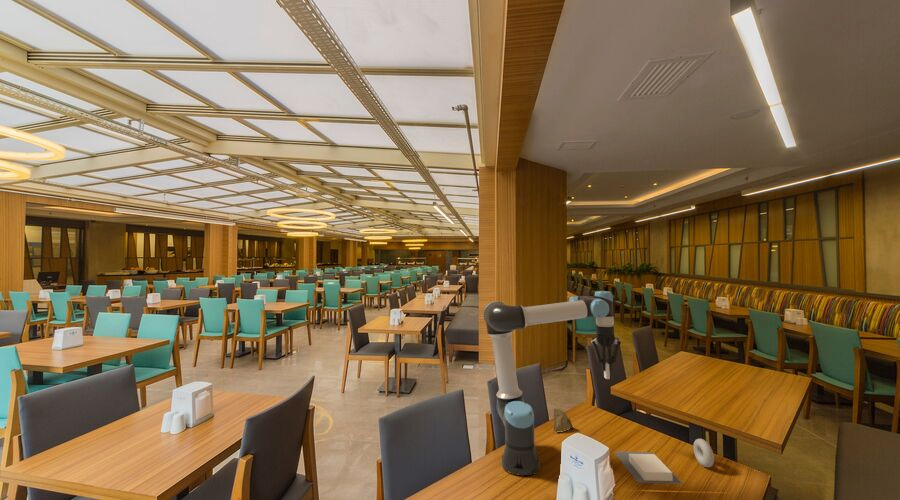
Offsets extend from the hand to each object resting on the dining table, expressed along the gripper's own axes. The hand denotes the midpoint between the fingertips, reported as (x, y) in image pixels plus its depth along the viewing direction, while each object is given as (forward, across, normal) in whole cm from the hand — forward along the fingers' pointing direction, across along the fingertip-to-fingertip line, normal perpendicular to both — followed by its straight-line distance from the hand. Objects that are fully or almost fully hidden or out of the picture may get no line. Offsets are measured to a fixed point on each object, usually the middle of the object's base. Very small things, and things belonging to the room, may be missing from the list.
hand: (606, 378), depth 160 cm
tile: (+27, -7, +15) cm, 32 cm away
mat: (+29, -7, +18) cm, 35 cm away
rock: (+30, +17, -14) cm, 37 cm away
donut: (+30, -31, +15) cm, 45 cm away
